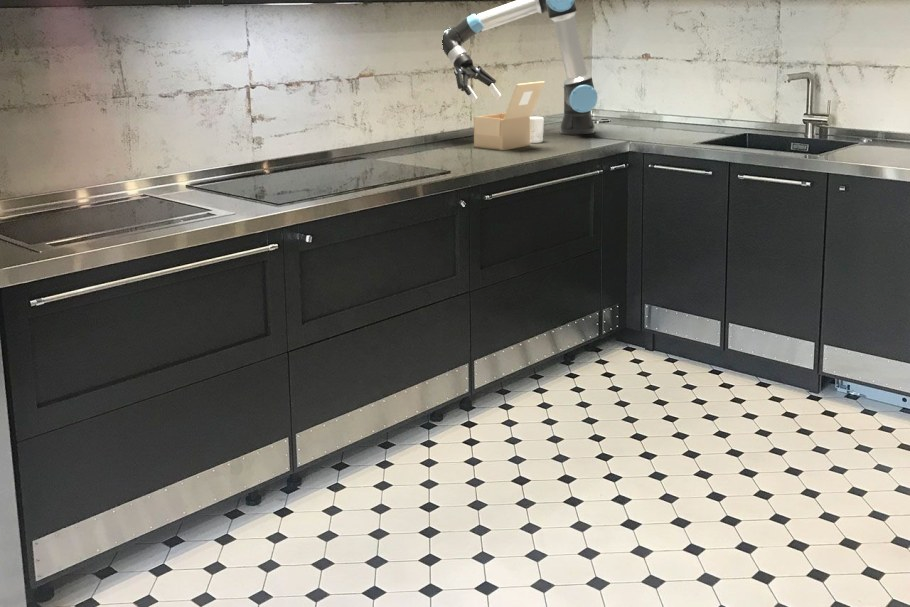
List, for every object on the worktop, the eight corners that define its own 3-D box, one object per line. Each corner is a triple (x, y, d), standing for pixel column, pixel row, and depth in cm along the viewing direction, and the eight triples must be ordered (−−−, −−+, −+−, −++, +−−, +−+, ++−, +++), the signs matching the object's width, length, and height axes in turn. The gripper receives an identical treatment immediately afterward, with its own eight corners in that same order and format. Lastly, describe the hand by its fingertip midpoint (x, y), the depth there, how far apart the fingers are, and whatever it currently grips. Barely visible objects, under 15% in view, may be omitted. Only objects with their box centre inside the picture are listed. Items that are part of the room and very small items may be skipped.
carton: (473, 147, 417) (472, 116, 413) (502, 142, 428) (501, 112, 424) (501, 150, 405) (501, 118, 402) (530, 145, 416) (530, 114, 413)
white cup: (544, 143, 423) (544, 118, 420) (525, 143, 423) (525, 119, 420) (543, 140, 430) (543, 116, 427) (524, 140, 430) (524, 116, 427)
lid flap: (516, 84, 393) (518, 85, 392) (543, 81, 403) (544, 82, 403) (503, 118, 402) (504, 119, 402) (529, 115, 412) (531, 115, 412)
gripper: (477, 64, 433) (503, 102, 427) (434, 68, 417) (460, 107, 411) (486, 51, 428) (512, 90, 422) (442, 55, 412) (469, 95, 406)
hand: (487, 98), depth 416 cm, fingers open, 13 cm apart
